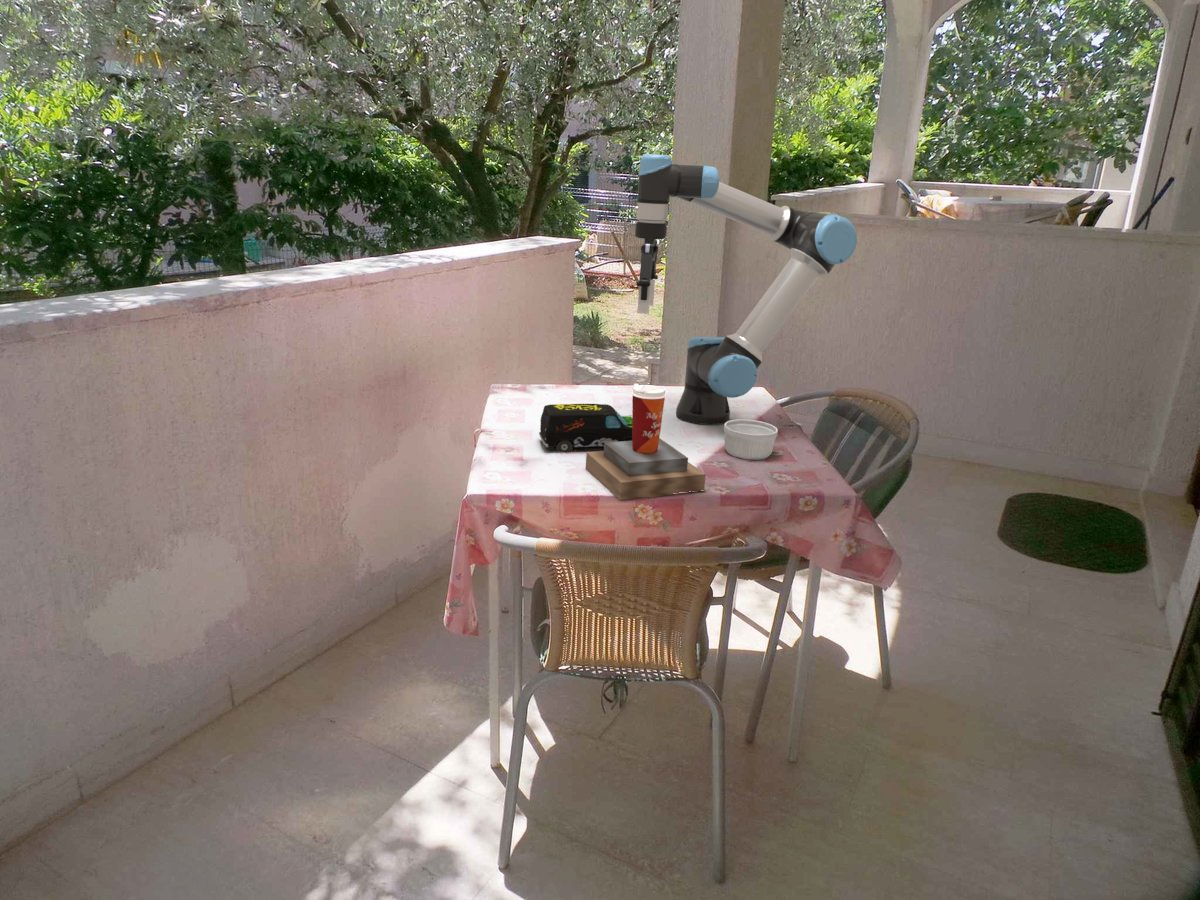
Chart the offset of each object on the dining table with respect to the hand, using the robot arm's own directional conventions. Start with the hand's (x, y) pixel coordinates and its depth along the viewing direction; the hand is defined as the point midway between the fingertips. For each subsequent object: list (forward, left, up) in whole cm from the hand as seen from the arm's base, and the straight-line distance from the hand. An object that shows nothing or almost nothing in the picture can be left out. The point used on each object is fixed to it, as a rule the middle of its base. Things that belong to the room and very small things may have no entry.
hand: (645, 309), depth 213 cm
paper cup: (+13, +32, -26) cm, 43 cm away
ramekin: (-21, +21, -33) cm, 44 cm away
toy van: (+16, +6, -33) cm, 37 cm away
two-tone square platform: (+13, +32, -33) cm, 48 cm away
